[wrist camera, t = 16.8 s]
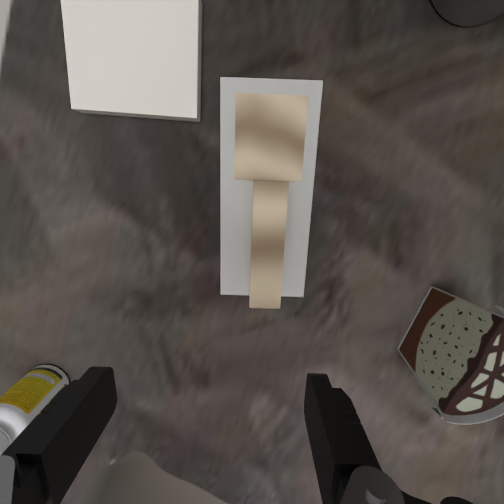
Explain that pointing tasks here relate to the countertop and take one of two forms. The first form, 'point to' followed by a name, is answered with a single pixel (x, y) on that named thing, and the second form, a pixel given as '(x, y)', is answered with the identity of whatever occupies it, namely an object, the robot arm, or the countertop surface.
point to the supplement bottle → (28, 400)
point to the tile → (134, 57)
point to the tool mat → (241, 191)
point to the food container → (457, 357)
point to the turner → (269, 180)
